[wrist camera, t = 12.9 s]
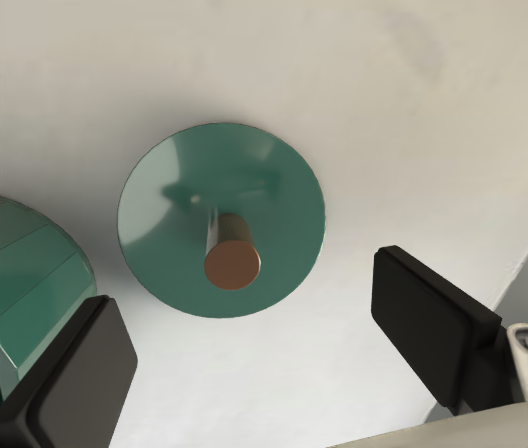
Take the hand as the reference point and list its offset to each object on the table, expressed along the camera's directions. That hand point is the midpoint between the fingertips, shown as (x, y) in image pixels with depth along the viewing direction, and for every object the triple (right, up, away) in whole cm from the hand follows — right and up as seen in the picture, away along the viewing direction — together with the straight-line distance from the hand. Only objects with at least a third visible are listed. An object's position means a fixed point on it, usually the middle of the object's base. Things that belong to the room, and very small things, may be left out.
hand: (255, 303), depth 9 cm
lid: (-2, +2, +10) cm, 10 cm away
